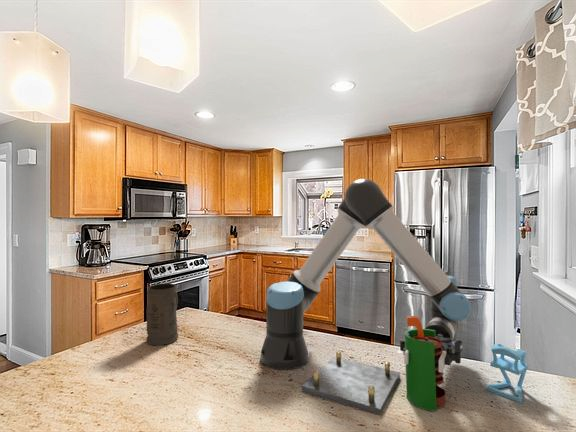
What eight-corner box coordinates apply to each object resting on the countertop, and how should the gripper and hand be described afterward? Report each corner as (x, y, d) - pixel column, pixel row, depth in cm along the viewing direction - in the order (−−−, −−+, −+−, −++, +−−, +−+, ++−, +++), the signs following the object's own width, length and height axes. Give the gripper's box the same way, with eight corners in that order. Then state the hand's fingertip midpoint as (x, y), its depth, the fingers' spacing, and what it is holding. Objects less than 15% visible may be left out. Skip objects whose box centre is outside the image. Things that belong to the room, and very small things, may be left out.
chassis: (301, 391, 84) (302, 374, 84) (333, 361, 102) (333, 347, 102) (380, 415, 73) (380, 395, 74) (399, 377, 92) (399, 361, 92)
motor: (451, 412, 74) (446, 324, 75) (410, 409, 76) (405, 323, 77) (440, 390, 84) (436, 312, 85) (404, 387, 86) (400, 311, 87)
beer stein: (171, 346, 112) (172, 288, 113) (140, 346, 113) (141, 288, 113) (185, 331, 128) (186, 280, 128) (158, 331, 128) (159, 280, 128)
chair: (532, 392, 84) (532, 346, 84) (520, 403, 79) (520, 353, 79) (498, 380, 90) (498, 337, 91) (486, 389, 85) (486, 344, 86)
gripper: (477, 354, 90) (471, 390, 71) (403, 340, 101) (380, 367, 81) (477, 327, 90) (471, 356, 71) (403, 315, 101) (380, 337, 82)
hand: (422, 362), depth 76 cm, fingers closed on motor, 7 cm apart
